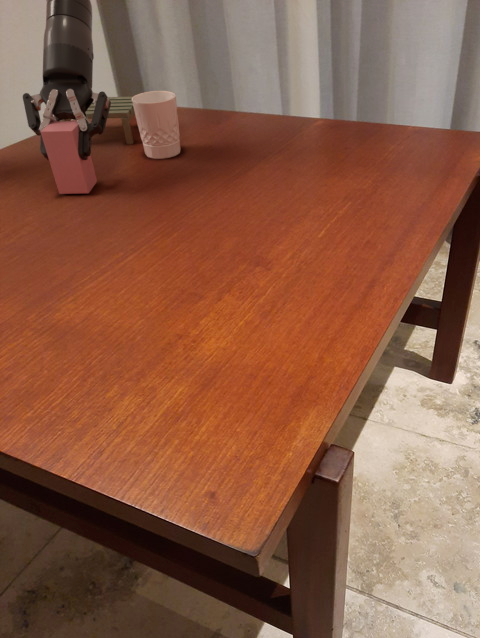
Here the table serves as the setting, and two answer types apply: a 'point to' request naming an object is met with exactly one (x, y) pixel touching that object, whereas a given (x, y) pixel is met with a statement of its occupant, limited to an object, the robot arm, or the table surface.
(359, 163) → the table surface
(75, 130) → the pink box
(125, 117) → the rack
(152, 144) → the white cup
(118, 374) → the table surface
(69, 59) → the robot arm
